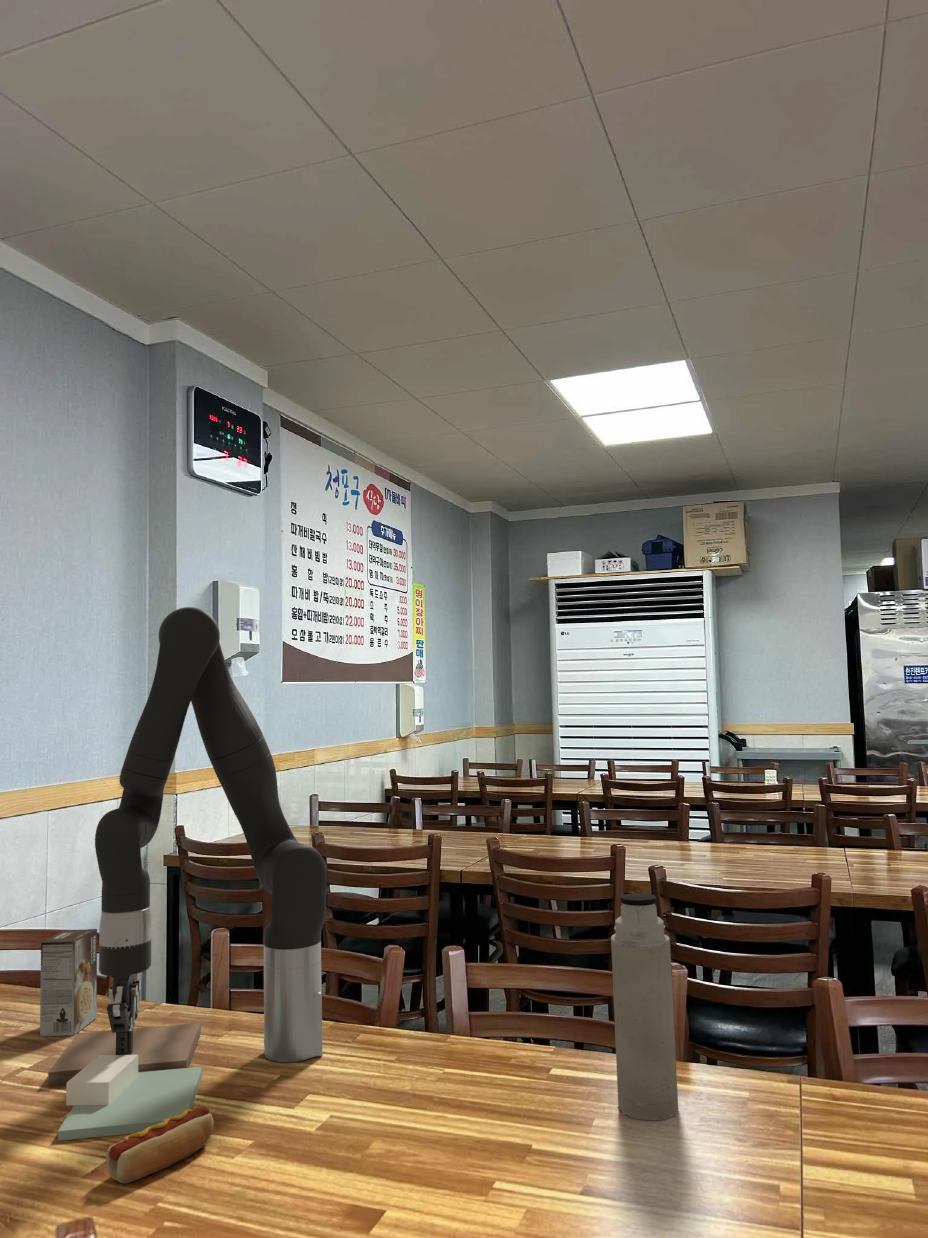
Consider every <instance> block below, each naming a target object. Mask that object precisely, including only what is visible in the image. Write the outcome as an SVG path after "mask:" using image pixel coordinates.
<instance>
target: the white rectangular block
mask: <svg viewBox="0 0 928 1238" xmlns="http://www.w3.org/2000/svg"><path fill="white" fill-rule="evenodd" d="M137 1076H138V1055H99V1056H98V1057H96V1058H95V1059H94V1060H93V1061H92V1062H91V1063H89V1064H88V1065H87V1066H86V1067H85V1068H83V1069H82V1070H81V1071H80V1072H79V1073H78V1074H76V1075H75V1076H74V1077H73V1078H72V1079H70V1080H69V1081H68V1082H67V1085H66V1090H65V1091H66V1095H65V1097H66V1098H65V1099H66V1101H65V1104H66V1105H65V1106H74V1105H109V1104H110V1103H111V1102H112V1101H113V1100H114V1099H115V1098H116V1097H117V1096H118V1095H119V1094H120V1093H121V1092H122V1091H123V1090H124V1089H125V1088H126V1087H127V1086H128V1085H129V1084H130V1083H131V1082H132V1081H133V1080H134V1079H135V1078H136V1077H137Z"/></svg>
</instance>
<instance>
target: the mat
mask: <svg viewBox="0 0 928 1238" xmlns="http://www.w3.org/2000/svg"><path fill="white" fill-rule="evenodd" d="M202 1077H203V1066H196V1067H195V1066H192V1067H189V1068H182V1069H170V1070H159V1071H148V1072H138V1076H137V1077H136V1078H135V1079H134V1080H133V1081H132V1082H131V1083H130V1084H129V1085H128V1086H127V1087H126V1088H125V1089H124V1090H123V1091H122V1092H121V1093H120V1094H119V1095H118V1096H117V1097H116V1098H115V1099H114V1100H113V1101H112V1102H111V1103H110V1104H109V1105H72V1108H71V1110H70V1111H69V1113H68V1114H67V1116H66V1118H65V1119H64V1121H63V1123H61V1126H60V1128H59V1129H58V1131H57V1142H58V1141H59V1142H60V1141H71V1140H80V1139H89V1138H100V1137H110V1136H112V1137H113V1136H120V1135H131V1134H135V1133H138V1132H142V1131H144V1129H146V1128H148V1127H150V1126H153V1125H156V1124H159V1123H161V1122H163V1121H164V1120H166V1119H168V1118H171V1117H173V1116H178V1115H181V1114H183V1112H184V1111H185V1110H187V1109H191V1110H192V1109H193V1105H194V1102H195V1099H196V1096H197V1093H198V1090H199V1088H200V1087H199V1086H200V1084H201V1080H202Z"/></svg>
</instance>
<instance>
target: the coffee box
mask: <svg viewBox="0 0 928 1238" xmlns="http://www.w3.org/2000/svg"><path fill="white" fill-rule="evenodd" d="M97 979H98V929H97V928H90V929H88V928H87V929H84V928H83V929H66V930H62V931H60V932H59V933H56V934H55V935H53V936H50V937H49V938H47V939H45V940H43V941H42V942H41V943H40V994H39V995H40V1000H39V1001H40V1003H39V1005H40V1006H39V1007H40V1009H39V1013H40V1014H39V1016H40V1017H39V1036H40V1037H61V1036H63V1037H64V1036H65V1037H66V1036H67V1037H68V1036H76V1035H77V1034H78V1033H80V1031H81V1030H83V1029H84V1028H86V1026H88V1025H89V1024H91V1023H92V1022H93V1021H94V1020H95V1019H97V1018H98V1017H97V1015H98V1014H97V1013H98V1012H97V1010H98V1008H97V1005H98V993H97V992H98V984H97V982H98V980H97Z"/></svg>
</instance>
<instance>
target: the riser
mask: <svg viewBox="0 0 928 1238" xmlns="http://www.w3.org/2000/svg"><path fill="white" fill-rule="evenodd" d="M201 1026H202V1023H201V1022H199V1023H198V1022H196V1023H183V1024H171V1025H160V1026H149V1027H148V1026H147V1027H136V1028H135V1027H134V1028H133V1052H132V1054H131V1055H138V1072H148V1071H159V1070H170V1069H182V1068H190V1065H191V1063H192V1060H193V1057H194V1055H193V1054H195V1051H196V1050H197V1049H196V1048H197V1046H198V1044H199V1041H200V1038H201V1036H200V1035H202V1032H201V1031H202V1029H201V1028H202V1027H201ZM198 1040H199V1041H198ZM197 1043H198V1044H197ZM99 1055H116V1033H112V1031H111V1029H110V1030H100V1031H98V1030H97V1031H84V1032H78V1033H77V1034H75V1035H74V1038H73V1039H72V1040H71V1042H70V1043H69V1044H68V1046H66V1049H64V1050H63V1052H62V1054H61V1055H60V1056H59V1057H58V1059H57V1060H55V1061H56V1062H55V1063H54V1064H53V1065H52V1067H51V1068H50V1070H49V1071H47V1072H48V1073H47V1087H56V1086H67V1082H68V1081H69V1080H70V1079H72V1078H73V1077H74V1076H75V1075H76V1074H78V1073H79V1072H80V1071H81V1070H82V1069H83V1068H85V1067H86V1066H87V1065H88V1064H89V1063H91V1062H92V1061H93V1060H94V1059H95V1058H96V1057H98V1056H99Z"/></svg>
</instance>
